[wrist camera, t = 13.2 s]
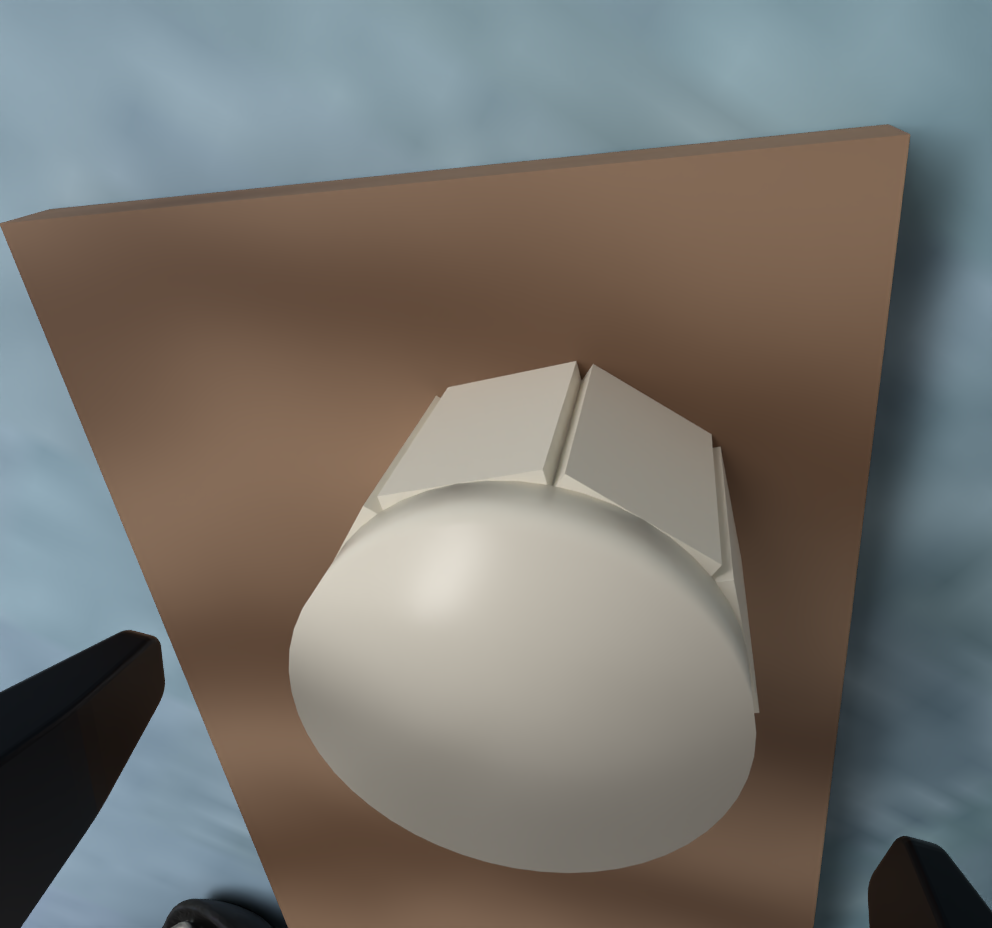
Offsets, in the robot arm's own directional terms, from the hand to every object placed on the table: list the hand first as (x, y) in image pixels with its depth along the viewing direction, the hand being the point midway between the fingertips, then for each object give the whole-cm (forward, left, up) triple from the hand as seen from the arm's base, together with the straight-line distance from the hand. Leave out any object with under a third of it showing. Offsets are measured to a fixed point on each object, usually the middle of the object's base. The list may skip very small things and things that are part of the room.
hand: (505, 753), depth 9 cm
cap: (0, 0, -5) cm, 5 cm away
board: (-4, +2, -6) cm, 8 cm away
